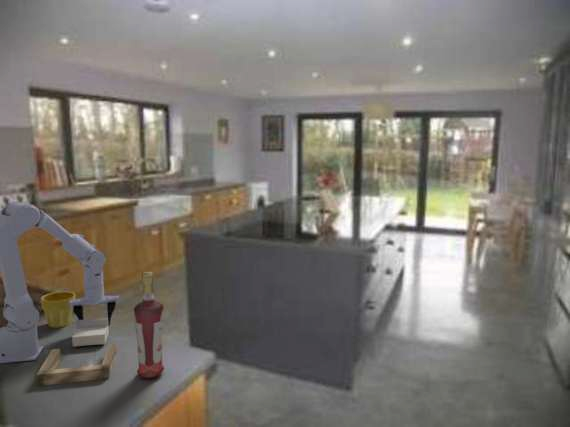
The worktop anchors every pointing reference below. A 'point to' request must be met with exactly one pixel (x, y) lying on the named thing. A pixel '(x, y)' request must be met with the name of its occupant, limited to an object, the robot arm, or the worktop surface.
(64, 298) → the plant pot
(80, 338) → the grey l-shaped bracket
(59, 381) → the wooden u-shaped frame
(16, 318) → the robot arm
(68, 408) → the worktop surface
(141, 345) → the liquor
